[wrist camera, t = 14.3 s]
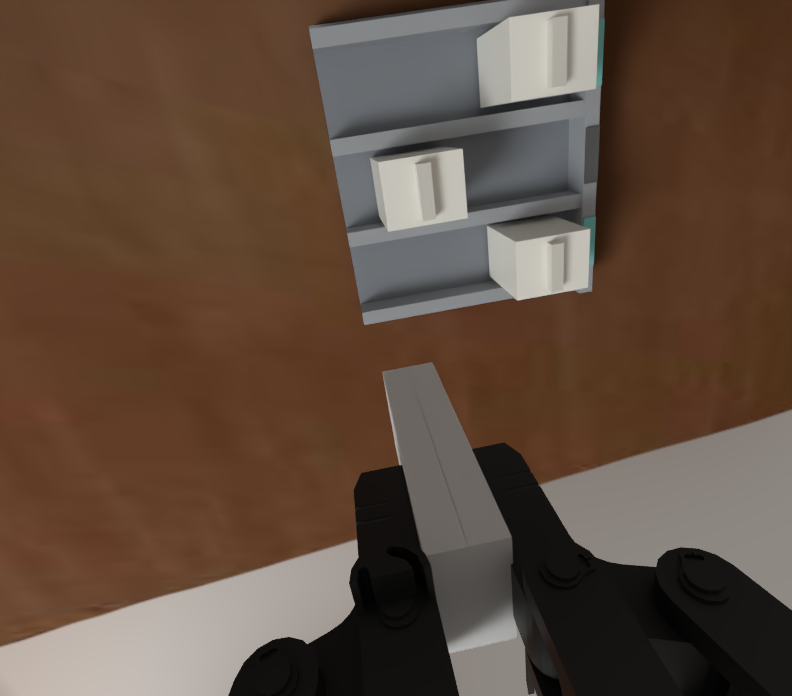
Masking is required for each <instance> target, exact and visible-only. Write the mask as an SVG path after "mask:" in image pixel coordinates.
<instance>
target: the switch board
mask: <svg viewBox="0 0 792 696" xmlns="http://www.w3.org/2000/svg"><path fill="white" fill-rule="evenodd" d="M597 4H599V28H598V53H597V77H596V89H592V90H587V91H581V92H575V93H570V94H564V95H558V96H553V97H547V98H540V99H534V100H528V101H521V102H515V103H509V104H502V105H496V106H489V107H483V108H480V92H479V74H478V56H477V38H479V37H480V36H482V35H483V34H485V33H486V32H488V31H489V30H491V29H492V28H494V27H495V26H497V25H498V24H500V23H501V22H503V21H504V20H506V19H507V18H509V17H515V16H522V15H528V14H535V13H542V12H549V11H556V10H562V9H569V8H576V7H583V6H590V5H597ZM604 6H605V0H487V1H480V2H473V3H466V4H459V5H452V6H445V7H438V8H431V9H425V10H418V11H411V12H404V13H397V14H390V15H383V16H376V17H369V18H362V19H355V20H348V21H341V22H334V23H327V24H320V25H313V26H309V31H310V37H311V42H312V47H313V52H314V58H315V63H316V68H317V74H318V79H319V85H320V90H321V95H322V101H323V106H324V111H325V117H326V122H327V127H328V133H329V138H330V144H331V149H332V155H333V160H334V165H335V170H336V176H337V181H338V186H339V192H340V197H341V202H342V208H343V213H344V219H345V224H346V229H347V235H348V240H349V246H350V251H351V256H352V261H353V267H354V272H355V278H356V283H357V288H358V294H359V299H360V304H361V310H362V315H363V321H364V325H367V324H373V323H378V322H384V321H389V320H395V319H400V318H406V317H411V316H417V315H422V314H428V313H433V312H439V311H444V310H450V309H455V308H461V307H466V306H472V305H477V304H483V303H488V302H494V301H499V300H505V299H510V298H514V297H513V296H512V295H511V294H509V293H508V292H507V291H506V290H505V289H504V288H503V287H501V286H500V285H499V284H498V283H497V282H496V281H495V280H493V279H492V278H491V277H490V272H489V254H488V236H487V226H488V225H494V224H499V223H505V222H511V221H517V220H523V219H528V218H534V217H540V216H546V215H553V216H555V217H558V218H561V219H564V220H567V221H569V222H572V223H575V224H578V225H581V226H583V227H586V228H589V229H590V250H589V275H588V288H583V289H578V290H575V291H577V292H578V293H584V292H590V291H592V277H593V265H594V249H595V227H596V216H595V209H596V186H597V182H598V160H599V138H600V126H599V119H600V96H601V85H602V71H603V49H604V27H605V18H604ZM440 146H441V147H452V148H462V149H463V160H464V173H465V187H466V201H467V214H468V218H466V219H460V220H455V221H449V222H443V223H437V224H431V225H425V226H419V227H414V228H408V229H402V230H396V231H390V232H388V230H387V229H386V227H385V225H384V224H383V222H382V221H381V219H380V217H379V213H378V207H377V200H376V194H375V187H374V181H373V174H372V168H371V161H370V158H372V157H378V156H384V155H391V154H397V153H403V152H409V151H415V150H421V149H428V148H434V147H440Z"/></svg>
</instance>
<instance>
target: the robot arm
mask: <svg viewBox="0 0 792 696" xmlns="http://www.w3.org/2000/svg"><path fill="white" fill-rule="evenodd" d="M382 373H383V378H384V384H385V389H386V395H387V401H388V406H389V412H390V417H391V423H392V429H393V434H394V440H395V445H396V450H397V455H398V459H399V464H400V465H399V466H394V467H389V468H384V469H379V470H374V471H369V472H364V473H361V475H360V477H359V480H358V482H357V484H356V486H355V489H354V499H355V510H356V511H355V513H356V524H357V526H356V527H357V541H358V555H359V558H358V559H357V561H356V563H355V564H354V566H353V567H352V570H351V575H350V582H349V584H350V588H351V592H352V595H353V599H354V602H355V606H354V608H353V610H352V611H351V613H350V615H348V617H347V618H346V619H345V620H344V621H343V622H342V623H341V624H340V625H338V626H337V627H335V628H334V629H333V630H331V631H330V632H328V633H327V634H325V635H323V636H321V637H319V638H318V639H316V640H314V641H313V642H311V643H309V644H306V643H305V642H304V641H303V640H299V639H295V638H291V637H287V638H281V639H275V640H272V641H270V642H269V643H267V644H265V645H263V646H262V647H260V648H258V649H257V650H256V651H255V652H254V653H253V654H252V655H251V656H250V657H249V658H248V659H247V660H246V661H245V662H244V664H243V665H242V667H241V669H240V671H239V673H238V674H237V676H236V678H235V680H234V682H233V685H232V688H231V690H230V693H229V696H459V693H458V689H457V685H456V680H455V676H454V672H453V668H452V664H451V659H450V655H449V653H453V652H457V651H462V650H467V649H471V648H475V647H479V646H484V645H488V644H493V643H497V642H501V641H505V640H510V639H514V638H517V637H516V625H517V627H518V629H519V632H520V635H521V638H522V640H523V643H524V645H525V657H526V681H527V688H528V694H534V688H535V691H536V694H537V696H792V610H790V609H789V608H788V607H786V606H785V605H784V604H783V603H781V602H780V601H779V600H777V599H776V598H775V597H774V596H772V595H771V594H770V593H768V592H767V591H766V590H765V589H763V588H762V587H761V586H760V585H758V584H757V583H756V582H754V581H753V580H752V579H751V578H749V577H748V576H747V575H745V574H744V573H743V572H742V571H740V570H739V569H738V568H736V567H735V566H734V565H732V564H731V563H729V562H727V561H726V560H724V559H722V558H720V557H719V556H717V555H715V554H712V553H709V552H706V551H703V550H700V549H694V548H677V549H674V550H669V551H667V552H666V553H665V554H663V555H662V556H661V557H660V558H659V559H658V562H657V567H648V566H635V565H622V564H616V563H611V562H607V561H604V560H601V559H598V558H596V557H594V556H593V554H592V553H591V552H590V551H588V550H587V549H585V548H583V547H581V546H580V545H578V544H577V543H575V542H574V541H573V539H572V538H571V537H570V535H569V534H568V532H567V531H566V529H565V527H564V525H563V524H562V522H561V520H560V519H559V517H558V515H557V514H556V512H555V511H554V509H553V507H552V505H551V504H550V502H549V501H548V499H547V497H546V495H545V494H544V492H543V490H542V489H541V487H540V486H539V485H538V482H537V480H536V479H535V477H534V475H533V474H532V473H531V472H530V469H529V467H528V465H527V464H526V462H525V460H524V459H523V457H522V455H521V454H520V453H518V452H517V451H516V450H514V449H513V448H511V447H510V446H509V445H507V444H506V443H500V444H495V445H490V446H485V447H480V448H475V449H471V446H470V444H469V442H468V440H467V438H466V435H465V433H464V431H463V429H462V427H461V424H460V422H459V420H458V418H457V416H456V413H455V411H454V409H453V407H452V405H451V402H450V400H449V398H448V396H447V394H446V391H445V389H444V387H443V385H442V383H441V380H440V378H439V376H438V374H437V372H436V369H435V367H434V365H433V363H432V362H431V363H426V364H421V365H415V366H410V367H405V368H400V369H394V370H389V371H384V372H382Z"/></svg>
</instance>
